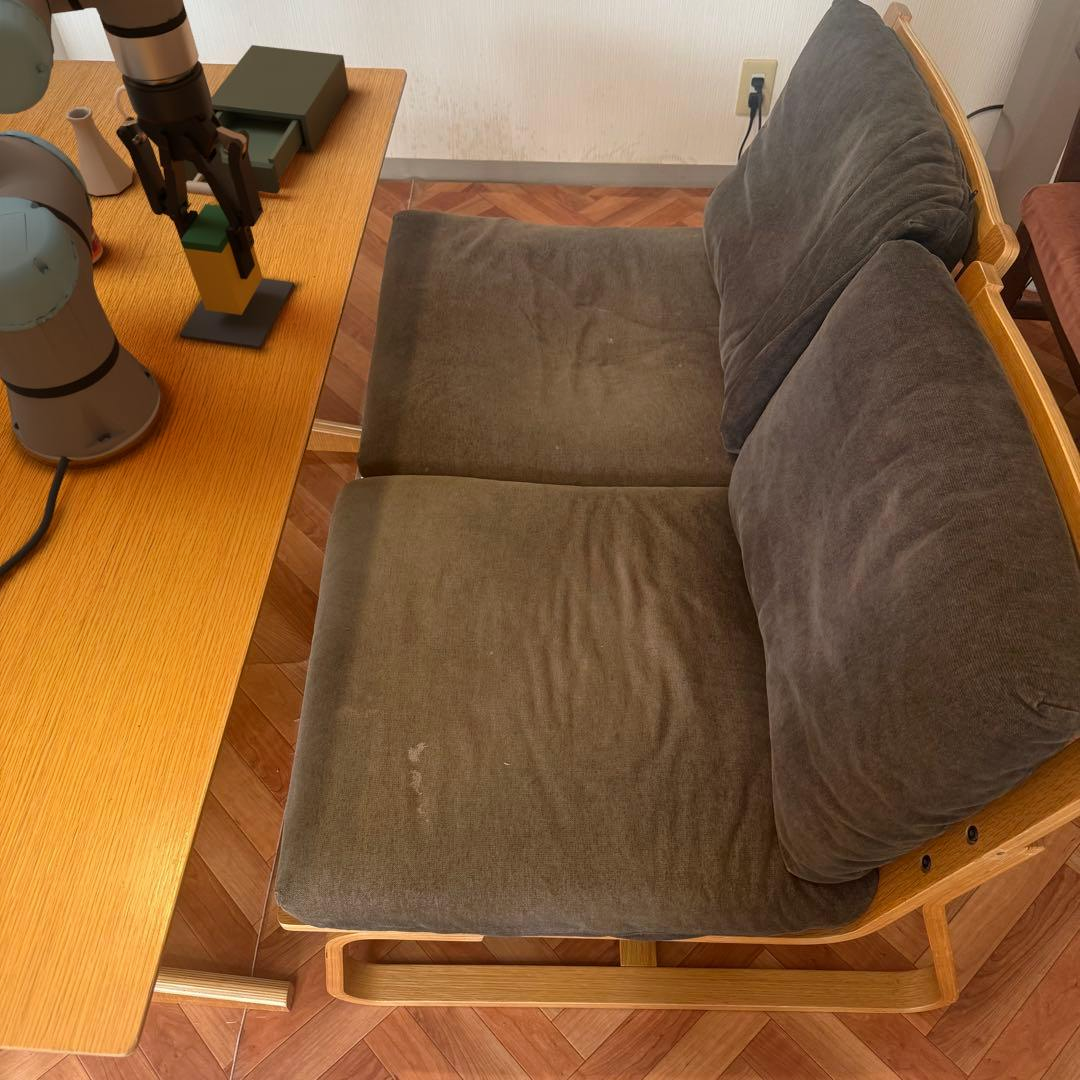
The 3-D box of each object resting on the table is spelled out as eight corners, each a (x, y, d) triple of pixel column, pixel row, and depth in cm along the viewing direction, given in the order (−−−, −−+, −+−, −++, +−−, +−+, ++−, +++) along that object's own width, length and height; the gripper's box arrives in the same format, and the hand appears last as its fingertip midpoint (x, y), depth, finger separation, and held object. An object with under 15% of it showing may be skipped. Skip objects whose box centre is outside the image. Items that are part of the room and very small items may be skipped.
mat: (260, 349, 105) (259, 346, 105) (180, 337, 106) (178, 334, 106) (294, 285, 112) (294, 282, 112) (219, 275, 113) (218, 272, 113)
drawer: (264, 216, 119) (257, 190, 116) (169, 204, 120) (159, 178, 117) (316, 130, 132) (311, 105, 128) (230, 120, 133) (223, 94, 130)
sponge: (241, 315, 105) (219, 245, 97) (205, 310, 105) (179, 240, 97) (263, 278, 109) (243, 208, 101) (228, 273, 109) (205, 203, 102)
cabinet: (312, 152, 130) (304, 115, 125) (217, 140, 131) (206, 103, 127) (349, 91, 140) (343, 54, 135) (260, 81, 141) (251, 44, 137)
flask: (142, 169, 126) (116, 100, 118) (123, 199, 122) (94, 129, 114) (92, 166, 127) (63, 96, 119) (71, 195, 122) (40, 125, 114)
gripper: (262, 56, 87) (309, 258, 106) (93, 38, 88) (169, 240, 107) (232, 96, 82) (287, 299, 101) (55, 76, 84) (142, 279, 103)
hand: (226, 268), depth 104 cm, fingers closed on sponge, 4 cm apart
